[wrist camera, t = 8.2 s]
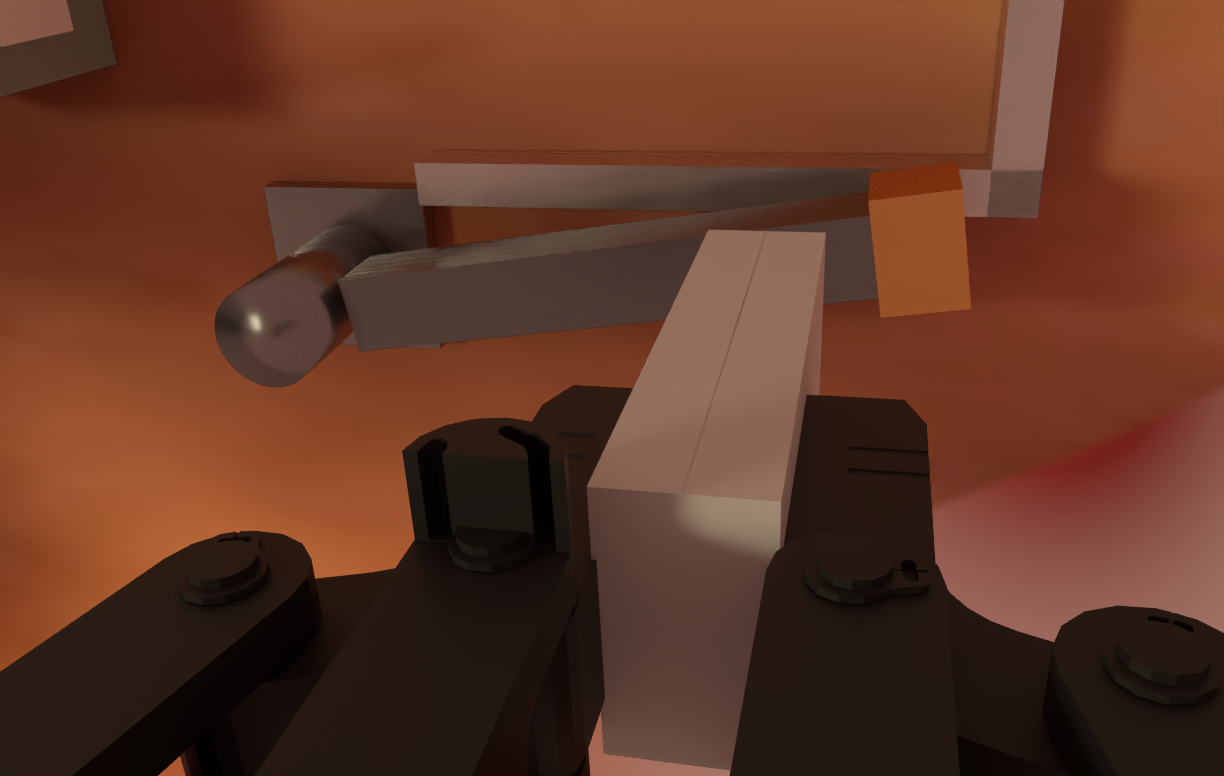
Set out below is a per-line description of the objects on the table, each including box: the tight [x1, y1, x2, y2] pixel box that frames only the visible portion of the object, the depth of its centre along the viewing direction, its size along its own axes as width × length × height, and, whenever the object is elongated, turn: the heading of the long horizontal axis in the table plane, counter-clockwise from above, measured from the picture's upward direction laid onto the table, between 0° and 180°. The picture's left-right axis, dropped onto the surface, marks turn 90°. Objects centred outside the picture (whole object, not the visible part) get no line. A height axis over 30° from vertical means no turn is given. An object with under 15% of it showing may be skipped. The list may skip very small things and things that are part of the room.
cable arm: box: [338, 161, 971, 351], centre depth 28 cm, size 16×3×2 cm, turn 102°
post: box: [215, 182, 445, 387], centre depth 31 cm, size 5×5×6 cm
